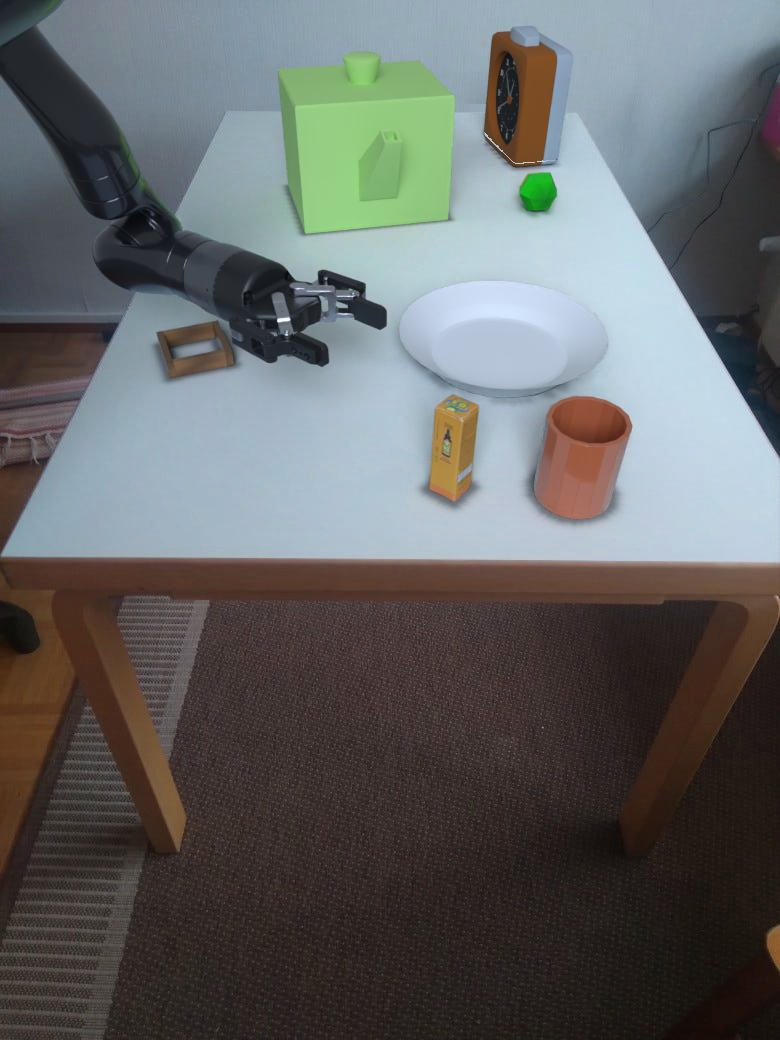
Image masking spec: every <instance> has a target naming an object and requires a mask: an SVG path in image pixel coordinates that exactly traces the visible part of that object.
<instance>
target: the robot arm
mask: <svg viewBox="0 0 780 1040" xmlns="http://www.w3.org/2000/svg"><path fill="white" fill-rule="evenodd" d="M64 2H65V0H0V79H1V80H2V82H3V83H4V84H5V85H6V87H7V88H8V89H9V91H10V92H11V93H12V95H13V96H14V97H15V99H16V100H17V102H18V103H19V104H20V105H21V107H22V108H23V110H24V111H25V112H26V114H27V115H28V116H29V118H30V119H31V121H32V122H33V124H34V125H35V128H36V129H37V130H38V131H39V133H40V135H41V136H42V137H43V139H44V141H45V142H46V144H47V146H48V147H49V149H50V151H51V152H52V154H53V156H54V158H55V159H56V161H57V163H58V165H59V167H60V169H61V171H62V173H63V174H64V175H65V178H66V180H67V181H68V183H69V185H70V186H71V189H72V190H73V192H74V194H75V195H76V197H77V199H78V201H79V202H80V204H81V205H82V207H83V208H84V210H85V211H86V212H87V213H89V215H91V216H92V217H94V218H95V219H99V220H103V221H111V222H110V223H109V224H108V225H106V226H105V227H104V228H103V229H102V230H101V231H100V232H98V234H97V235H96V237H95V238H94V240H93V242H92V245H91V246H92V247H91V255H92V259H93V262H94V264H95V266H96V267H97V270H98V271H99V273H100V274H102V275H103V277H104V278H106V279H107V280H108V281H109V282H111V283H113V284H114V285H116V286H118V287H119V288H121V289H124V290H127V291H130V292H133V293H139V294H148V295H163V296H176V297H179V298H181V299H183V300H185V301H187V302H190V303H192V304H194V305H195V306H197V307H200V308H201V309H202V310H204V311H205V312H207V313H208V314H210V315H212V316H214V317H216V318H218V319H221V320H222V321H225V322H227V323H228V325H229V331H230V336H231V343H232V344H233V346H236V347H237V348H240V349H242V350H243V351H245V352H247V353H249V354H251V355H253V356H254V357H256V358H257V359H260V360H262V361H263V362H265V363H267V364H274V363H276V362H278V357H282V356H283V357H286V358H293V357H294V358H297V359H298V360H300V361H302V362H305V363H307V364H309V365H314V366H317V367H320V368H324V367H325V366H327V365H328V364H329V363H330V353H329V352H330V351H329V347H328V344H326V343H325V342H324V341H321V340H320V339H317V338H315V337H312V336H310V335H308V334H305V333H303V331H305V330H306V329H307V328H308V327H309V326H312V325H314V324H317V323H334V322H336V320H337V319H353V320H354V321H357V322H359V323H361V324H363V325H366V326H369V327H371V328H373V329H376V330H378V331H382V330H384V329H385V328H386V327H387V326H388V311H387V309H386V307H385V306H383V305H382V304H378V303H377V302H373V301H371V300H369V299H367V292H366V291H367V283H366V282H363V281H361V280H358V279H355V278H352V277H349V276H346V275H343V274H339V273H337V272H333V271H331V270H329V269H320V270H317V279H316V280H314V281H313V282H309V281H301V280H297V279H295V278H294V276H293V275H292V274H291V273H290V272H289V270H288V269H287V267H285V266H284V265H283V264H281V263H280V262H277V261H275V260H272V259H270V258H267V257H265V256H262V255H260V254H257V253H256V252H255V253H254V252H253V251H250V250H247V249H244V248H242V247H239V246H237V245H235V244H231V243H225V242H220V241H218V240H215V239H212V238H210V237H208V236H205V235H202V234H200V233H197V232H193V231H190V230H187V229H186V230H185V229H184V228H183V225H182V223H181V221H180V220H179V218H178V217H177V215H176V214H175V213H174V212H173V211H172V210H171V209H170V208H169V207H168V206H167V204H166V203H165V202H164V201H163V200H162V199H161V198H160V197H159V195H158V194H157V193H156V191H155V190H154V189H153V188H152V186H151V185H150V184H149V182H148V180H147V179H146V178H145V176H144V175H143V174H142V172H141V169H140V167H139V165H138V163H137V160H136V158H135V156H134V153H133V150H132V149H131V147H130V144H129V142H128V140H127V138H126V135H125V133H124V131H123V129H122V127H121V125H120V124H119V122H118V120H117V119H116V117H115V116H114V115H113V113H112V111H111V110H110V109H109V107H108V106H107V104H105V102H104V101H103V99H101V97H100V96H99V95H98V94H97V93H96V92H95V91H94V89H93V88H92V87H91V86H90V85H89V84H88V83H87V82H86V81H85V80H84V79H83V78H82V77H81V76H80V75H79V74H78V73H77V71H76V70H75V69H74V68H73V67H72V66H71V65H70V64H69V63H68V61H66V59H65V58H64V57H63V56H62V55H61V54H60V53H59V51H58V50H57V49H56V48H55V47H54V46H53V44H52V43H51V42H50V41H49V39H48V38H47V36H45V34H44V33H43V32H42V30H41V29H40V28H39V27H38V24H40V23H41V22H42V21H44V20H46V19H47V18H48V17H49V16H50V15H52V14H53V13H54V12H56V11H57V10H58V8H60V7H61V5H62V4H63V3H64ZM320 296H321V297H323V298H324V300H325V301H327V307H328V308H327V309H328V310H327V311H323V306H322V305H323V304H322V299H321V297H320ZM337 302H338V303H340V304H343V305H345V306H347V307H338V306H337ZM273 333H274V334H273Z"/></svg>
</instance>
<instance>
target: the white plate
mask: <svg viewBox="0 0 780 1040" xmlns="http://www.w3.org/2000/svg"><path fill="white" fill-rule="evenodd" d="M398 333H399V339H400V341H401V344H402V345H403V347H404V348H405V350H406V352H408V353H409V355H410V356H411V357H412V358H413V359H415V361H417V362H418V363H419V364H421V365H422V366H424V367H425V368H427V369H428V370H430V371H432V372H434V373H435V374H436V375H437V376H438V377H439V378H440V379H442V380H443V381H444V382H446V383H448V384H449V385H451V386H453V387H455V388H458V389H460V390H462V391H465V392H468V393H472V394H476V395H478V396H479V395H480V396H485V397H493V398H506V399H507V398H522V397H530V396H534V395H537V394H541V393H545V392H547V391H549V390H552V389H553V388H555V387H558V386H560V385H562V384H565V383H568V382H570V381H573V380H575V379H578V378H580V377H582V376H583V375H586V374H587V373H588V372H590V371H592V369H594V368H595V367H597V366H598V365H599V363H601V361H602V359H604V357H605V355H606V352H607V350H608V346H609V336H608V331H607V329H606V327H605V326H604V323H603V322H602V320H601V319H600V318H599V317H598V316H597V315H596V313H595V312H593V310H591V309H590V308H589V307H587V306H586V305H585V304H583V303H581V302H580V301H578V300H577V299H575V298H573V297H571V296H569V295H566V294H564V293H562V292H559V291H557V290H553V289H551V288H547V287H544V286H540V285H537V284H531V283H525V282H518V281H511V280H476V281H475V280H474V281H467V282H460V283H455V284H451V285H447V286H444V287H440V288H438V289H435V290H433V291H430V292H428V293H426V294H424V295H422V296H420V297H419V298H418V299H416V300H414V301H413V302H412V303H411V304H410V305H409V306H408V307H407V308H406V309H405V311H404V312H403V314H402V316H401V318H400V320H399V325H398Z"/></svg>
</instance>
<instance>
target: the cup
mask: <svg viewBox="0 0 780 1040" xmlns="http://www.w3.org/2000/svg"><path fill="white" fill-rule="evenodd" d="M632 429H633V423H632V421H631V418H630V415H629V414H628V413H627V412H625V410H624V409H623V408H621V407H620V406H619V405H617V404H615V403H614V402H611V401H609V400H607V399H603V398H599V397H595V396H590V395H584V396H583V395H574V396H569V397H565V398H561V399H559V400H557V401H556V402H554V403H553V404H551V405H550V406H549V408H548V411H547V413H546V416H545V421H544V427H543V432H542V437H541V443H540V448H539V454H538V459H537V462H536V463H537V465H536V470H535V474H534V481H533V493H534V496H535V498H536V500H537V502H538V503H539V504H540V505H541V506H542V507H543V508H544V509H545V510H547V511H549V512H550V513H553V514H554V515H557V516H560V517H562V518H565V519H566V518H567V519H573V520H574V519H575V520H583V519H584V520H586V519H591V518H594V517H597V516H599V515H601V514H602V513H604V512H605V511H606V510H607V509H608V507H609V506H610V505H611V504H610V503H611V501H612V497H613V495H614V491H615V487H616V484H617V480H618V477H619V474H620V471H621V467H622V464H623V460H624V457H625V453H626V450H627V447H628V443H629V440H630V437H631V434H632Z"/></svg>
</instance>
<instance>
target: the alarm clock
mask: <svg viewBox="0 0 780 1040" xmlns="http://www.w3.org/2000/svg"><path fill="white" fill-rule="evenodd" d="M490 42H491V43H490V52H489V64H488V75H487V76H488V77H487V87H486V101H485V110H484V111H485V112H484V123H483V133H484V132H485V133H486V134H487V135H488V137H489V138H491V139H492V141H493V142H494V143H495V144H496V145H498V146H499V148H500V149H501V150H503V152H504V153H505V154H506V155H507V156H508V157H509V158H510V159H511V160H512V161H513V162H515V163H523V162H535V163H524V164H515V163H513V162H512V161H511V160H510V159H509V158H508V157H507V156H506V155H505V154H504V153H503V152H501V151H500V150H499V149H498V148H497V147H496V146H495V145H494V144H493V143H492V142H491V141H490V140H489V139H488V138H487V137H486V136H485V135H484V134H483V136H484V139H485V140H486V141H487V142H488V143H489V144H490V146H492V147H493V148H494V149H495V150H496V151H497V152H498V153H499V154H500V155H501V156H502V157H503V158H504V159H505V160H506V161H507V162H508V163H509V164H510V165H511V166H512V167H514V168H521V167H530V166H541V165H553V164H555V163H557V162H558V160H559V159H558V158H559V154H560V147H561V141H562V134H563V128H564V121H565V115H566V110H567V102H568V97H569V89H570V83H571V77H572V70H573V64H574V54H573V52H572V51H571V50H570V49H568V48H566V47H565V46H563V45H562V44H560V43H558V42H556V41H555V40H553V39H552V38H550V37H548V36H547V35H545V34H543V33H542V32H540V31H539V30H538V28H537V27H536V26H534V25H521V26H512V27H511V28H510V30H507V31H496V32H495V33H493V34H492V37H491V41H490ZM556 159H557V160H556ZM542 160H543V161H546V160H555V161H546V162H537V161H542Z"/></svg>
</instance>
